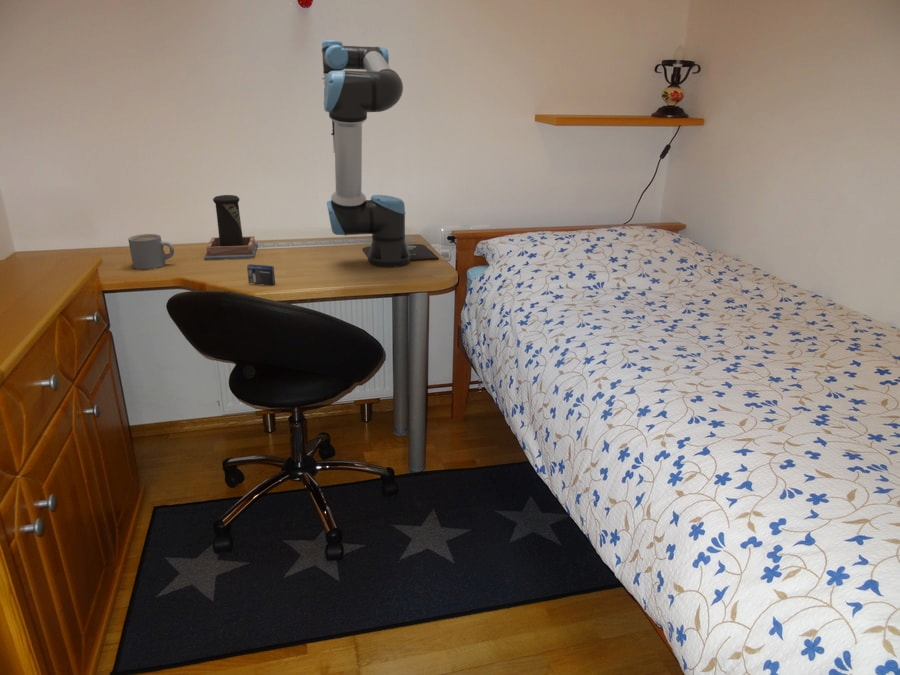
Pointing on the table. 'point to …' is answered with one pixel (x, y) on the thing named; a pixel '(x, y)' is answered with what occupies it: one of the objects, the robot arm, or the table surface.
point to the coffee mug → (148, 251)
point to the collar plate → (231, 250)
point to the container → (228, 220)
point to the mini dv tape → (261, 274)
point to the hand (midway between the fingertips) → (337, 152)
